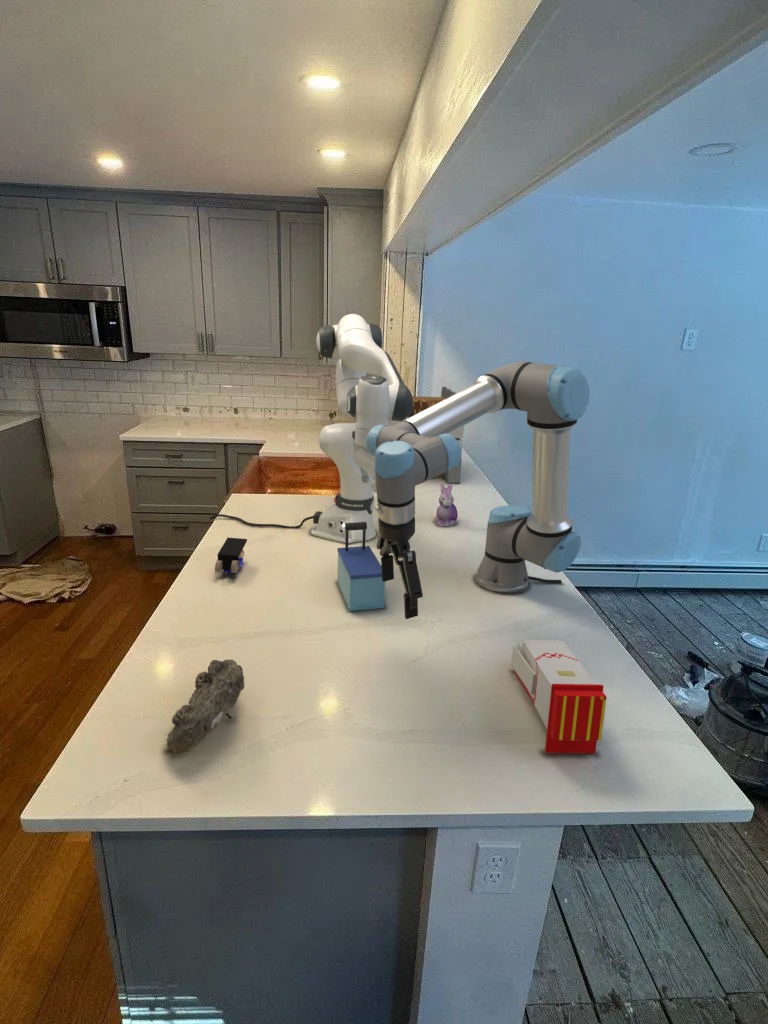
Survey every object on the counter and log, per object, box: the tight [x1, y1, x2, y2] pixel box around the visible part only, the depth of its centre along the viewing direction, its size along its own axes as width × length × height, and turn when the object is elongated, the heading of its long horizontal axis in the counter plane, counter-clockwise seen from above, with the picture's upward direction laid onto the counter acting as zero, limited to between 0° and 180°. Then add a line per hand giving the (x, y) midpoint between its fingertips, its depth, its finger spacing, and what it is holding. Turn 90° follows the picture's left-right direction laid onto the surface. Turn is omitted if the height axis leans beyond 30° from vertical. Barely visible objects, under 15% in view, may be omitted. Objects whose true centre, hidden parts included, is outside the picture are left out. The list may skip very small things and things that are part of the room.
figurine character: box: [214, 537, 248, 578], centre depth 166 cm, size 7×8×15 cm
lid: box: [337, 522, 382, 579], centre depth 152 cm, size 18×9×9 cm, turn 15°
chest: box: [337, 552, 386, 612], centre depth 155 cm, size 17×9×9 cm, turn 15°
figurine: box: [434, 483, 459, 527], centre depth 210 cm, size 9×10×15 cm
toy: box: [510, 639, 607, 754], centre depth 114 cm, size 12×13×30 cm
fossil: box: [166, 658, 245, 754], centre depth 106 cm, size 22×10×15 cm
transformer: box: [388, 386, 465, 484], centre depth 268 cm, size 34×33×41 cm
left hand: (370, 486), depth 157 cm, fingers open, 8 cm apart
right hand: (399, 597), depth 126 cm, fingers open, 13 cm apart
